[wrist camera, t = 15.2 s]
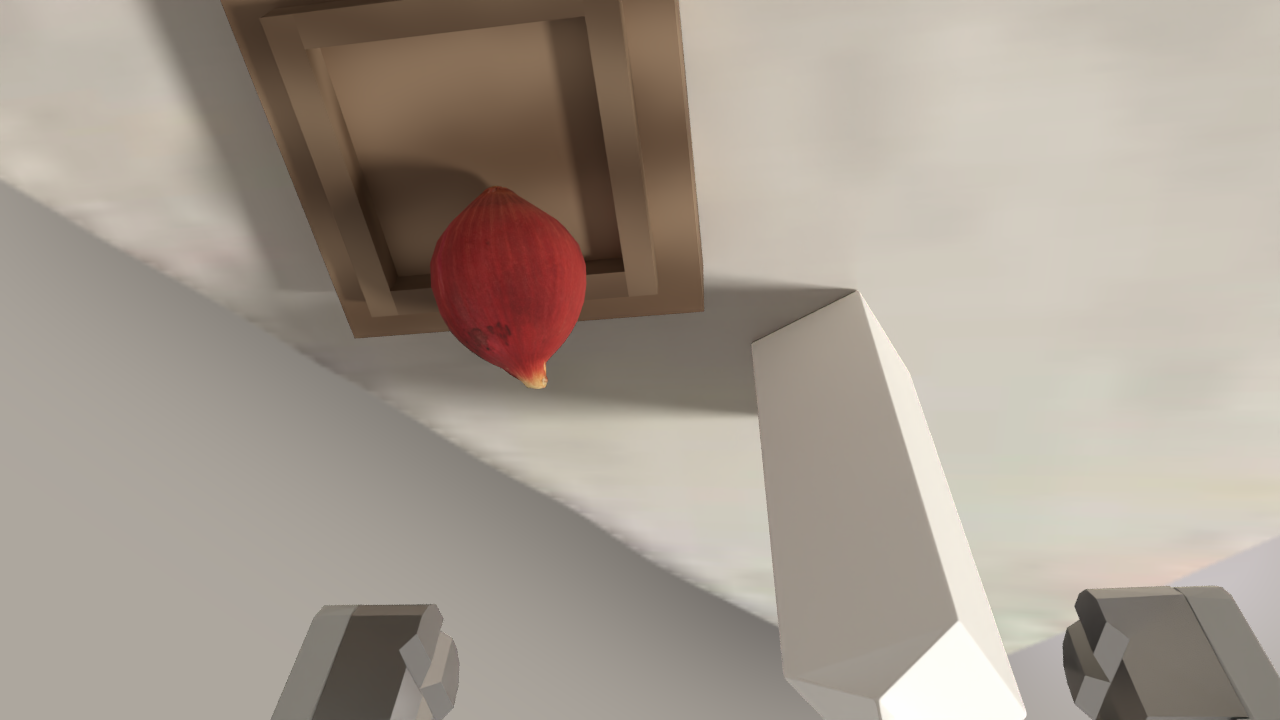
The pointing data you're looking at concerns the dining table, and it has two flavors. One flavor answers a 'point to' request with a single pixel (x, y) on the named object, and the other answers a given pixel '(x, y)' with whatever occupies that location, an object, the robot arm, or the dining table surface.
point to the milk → (869, 534)
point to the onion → (509, 283)
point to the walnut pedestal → (482, 139)
